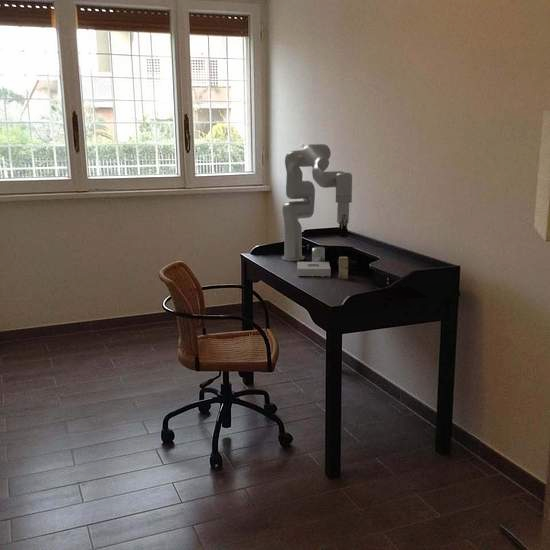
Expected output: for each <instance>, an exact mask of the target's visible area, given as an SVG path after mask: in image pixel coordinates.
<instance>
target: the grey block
mask: <svg viewBox="0 0 550 550" xmlns="http://www.w3.org/2000/svg"><path fill="white" fill-rule="evenodd" d="M325 249H326V248H325V247H324V246H313V247H312V248H311V262H326V261H325V258H326V257H325V256H326V255H325V253H326V251H325Z"/></svg>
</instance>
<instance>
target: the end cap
mask: <svg viewBox="0 0 550 550" xmlns="http://www.w3.org/2000/svg"><path fill="white" fill-rule="evenodd" d="M357 263H358V262H357V261H356V260H353V258H351V257H350V258H349V257H348V275H355V274H354V273H356V274H357V272H356V271H357V267H352V266H357ZM336 266H337V267H338V269H339V258H338V259H337V261H336Z"/></svg>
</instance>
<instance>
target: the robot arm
mask: <svg viewBox="0 0 550 550" xmlns="http://www.w3.org/2000/svg"><path fill="white" fill-rule="evenodd" d="M331 154H332V153H331V149H330V147H329V146H328V145H327V144H324V143H323V144H322V143H317V144H316V143H314V144H308V145H305V146H304V147H303V148H302V149H299V150H298V149H297V150H290V151H288V152H287V153H286V155H285V158H284V164H285V170H286V171H285V172H286V181H285V184H286V185H285V195H286V197H287V198H288V199H289V200H293V201H287V202H285V203H284V204H283V205H282V210H281V211H282V218H283V226H284V229H283V230H284V233H283V234H284V235H283V236H284V237H283V238H284V240H283V242H284V247H283V249H284V250H283V251H284V252H283V253H284V255H282V256H281V260H282V261H288V262H300V261H302V260H304V259H305V256H304V255H303V254H302V253H303V250H302V249H303V248H302V247H303V246H302V245H303V243H302V240H303V238H302V237H303V233H302V230H303V229H302V228H303V227H302V224H301V223H300V221H299V219H309V218H312V217H313V215H314V214H315V213H314V212H315V201H316V200H315V199H316V198H315V196H316V189H315V185H314V183H313V182H312V181H311V180H303V171H302V169H301V167H303V168H305V167H308V168H309V167H312V170H311V171H312V173H311V175H312V178H313V180H314V182H316V185H318V186H320V187H321V188H322V189H323V188H325V189H328V188H329V189H330V188H335V203H337V206H336V207H337V211H336V212H337V213H336V215H337V216H336V222H337V224H339V225H338V234H340V237H341V238H348V235H349V234H348V233H349V231H348V224H349V223H350V222H349V221H350V204H351V203H353V200H352V198H353V195H352V194H353V175H352V173H351V172H345V171H341V170H340V171H339V170H336V171H335V170H332V171H326V170H327V169H328V167H329V164H330V158H331ZM300 199H301V200H300ZM302 199H303V200H302ZM295 200H296V201H295Z"/></svg>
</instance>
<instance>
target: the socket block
mask: <svg viewBox="0 0 550 550" xmlns="http://www.w3.org/2000/svg"><path fill="white" fill-rule="evenodd" d="M296 263H297V264H296V265H297V266H296V271H297V273H296V275H297V274H298V275H297V277H298V276H312V277H311V278H314V277H313V276H321V277H320V278H325V277H324V276H329V277H328V278H331V277H330V276H332V275H331V273H332V272H331V270H332V269H331V266H330V261H325V262H312V261H296Z"/></svg>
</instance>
